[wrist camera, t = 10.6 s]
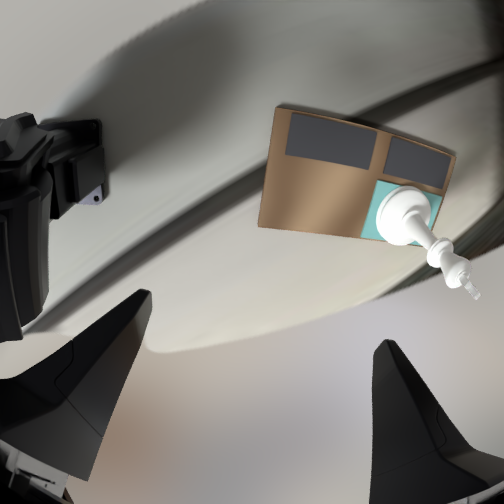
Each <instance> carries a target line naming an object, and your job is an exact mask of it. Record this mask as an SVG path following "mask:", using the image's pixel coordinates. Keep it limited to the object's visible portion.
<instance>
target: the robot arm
mask: <svg viewBox="0 0 504 504" xmlns="http://www.w3.org/2000/svg"><path fill="white" fill-rule="evenodd" d="M93 123H95V124H96V128H95V129H94V128H93ZM104 181H105V170H104V148H103V147H102V124H101V121H100V120H99V119H83V120H72V121H63V122H54V123H47V124H39V125H38V124H37V123H36V120H35V118H34V115H33V114H31V113H27V112H25V113H21V114H18V115H14V116H11V117H9V118H7V119H0V343H2V342H5V341H17V340H22V339H23V333H22V329H21V327H23V326H25V325H26V324H28V323H29V322H31V321H32V320H34V319H36V317H37V316H38V315H39V314H40V313H41V312H42V310H43V307H42V306H43V305H44V303H45V300H46V297H47V295H48V292H49V271H48V244H49V223H50V222H51V221H52V220H53V219H59V218H60V217H61V216H62V215H63V214H65V213H66V212H67V211H68V210H69V209H70V208H71V207H72V206H74V205H75V204H87V205H99V204H101V203H102V202H103V200H104V188H103V182H104ZM96 196H98V197H99V200H97V199H96ZM151 312H152V294H151V292H150V291H149V290H145V289H139V290H137V291H136V292H135V293H133V294H132V295H131V296H129V297H128V298H126V299H125V300H124V301H122V302H121V303H120V304H118V305H117V306H116V307H114V308H113V309H112V310H110V311H109V312H107V313H106V314H105V315H103V316H102V317H101V318H99V319H98V320H97V321H95V322H94V323H93V324H91V325H90V326H89V327H88V328H86V329H85V330H84V331H82V332H81V333H80V334H78V335H77V336H76V337H74V338H73V340H70V341H69V342H68V343H67V344H65V345H64V346H63V347H61V348H60V349H59V350H57V351H56V352H54V353H53V354H51V355H50V356H48V357H47V358H45V359H44V360H42V361H41V362H39V363H37V364H36V365H34V366H33V367H31V368H29V369H28V370H26V371H25V372H23V373H21V374H19V375H17V376H15V377H12V378H8V379H0V504H74V503H73V501H72V499H71V497H70V495H69V493H68V491H67V490H66V488H65V485H66V482H67V479H68V475H71V476H74V477H76V478H79V479H82V480H84V481H88V479H89V477H90V474H91V470H92V468H93V464H94V462H95V459H96V456H97V453H98V450H99V448H100V445H101V442H102V439H103V438H102V437H103V436H104V434H105V431H106V429H107V426H108V423H109V421H110V418H111V416H112V413H113V410H114V408H115V405H116V403H117V400H118V398H119V396H120V393H121V391H122V388H123V386H124V383H125V381H126V379H127V376H128V374H129V372H130V369H131V367H132V364H133V362H134V360H135V358H136V355H137V353H138V351H139V349H140V346H141V343H142V340H143V337H144V333H145V330H146V327H147V324H148V321H149V318H150V315H151ZM372 408H373V409H372V412H373V413H372V415H373V440H372V441H373V442H372V471H371V485H370V498H369V504H504V459H503V458H500V457H496V456H493V455H490V454H487V453H484V452H481V451H478V450H476V449H474V448H473V447H471V446H470V445H469V444H468V442H467V441H466V440H465V439H464V437H463V436H462V435H461V434H460V432H459V431H458V429H457V428H456V427H455V426H454V424H453V423H452V422H451V420H450V419H449V417H448V416H447V414H446V413H445V412H444V410H443V409H442V407H441V406H440V404H439V403H438V401H437V400H436V398H435V397H434V395H433V394H432V392H431V391H430V389H429V388H428V387H427V385H426V384H425V382H424V381H423V379H422V378H421V377H420V375H419V374H418V372H417V371H416V369H415V368H414V367H413V365H412V364H411V362H410V361H409V360H408V358H407V357H406V356H405V354H404V353H403V352H402V350H401V349H400V347H399V346H398V345H397V343H396V342H395V341H394V340H389V339H385V340H384V341H383V342H382V343H381V344H380V346H378V348H377V349H376V350H375V352H374V355H373V376H372Z"/></svg>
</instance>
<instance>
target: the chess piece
mask: <svg viewBox="0 0 504 504" xmlns="http://www.w3.org/2000/svg"><path fill="white" fill-rule="evenodd" d="M430 216H431V207H430V203H429V201H428V199H427V197H426V196H425V195H424V194H423V193H422V192H421V191H420V190H419V189H418V188H416V187H413V186H402V187H398V188H396V189H394V190H393V191H391V192H390V193H389V194H388V195H387V196H386V197H385V198H384V199H383V201H382V202H381V204H380V206H379V208H378V211H377V215H376V225H377V229H378V232H379V233H380V235H381V236H382V237H383V238H384V239H385V240H386V241H388V242H389V243H391V244H393V245H399V246H401V245H407V244H410V243H412V242H414V241H417V242H418V243H419V244H421V245H422V246H423V247H424V248H425V249H427V250H428V253H427V262H428V263H429V265H431V266H433V267H441V269H442V271H443V274H444V279H445V281H446V284H447V285H448V287H450V288H457V287H459V286H461V285H463V286H464V287H465V288H466V289H467V290H468V292H469V293H470V294H471V295H472V296H473V298H474V299H475V300H477V299H478V297H479V296H480V295H481V294H480V293H479V292H478V290H477V289H476V288H475V286H474V285H473V284H472V283H471V282H470V281H469V280H468V278H469V276H470V273H471V269H472V266H471V263H470V261H469V260H467V259H465V258H463V257H460V256H458V255H456V254H454V253H453V245H452V242H451V241H450V240H449V239H448V238H441V239H437V238H436V237H435V235H434V234H433V233H432V231H431V230H430V229H429V227H428V224H429V221H430Z"/></svg>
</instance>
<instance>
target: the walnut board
mask: <svg viewBox="0 0 504 504" xmlns="http://www.w3.org/2000/svg"><path fill="white" fill-rule="evenodd" d="M292 113H294V114H300V115H305V116H310V117H316V118H321V119H325V120H330V121H334V122H339V123H343V124H347V125H351V126H355V127H359V128H363V129H367V130H371V131H374V132H377V136H376V141H375V145H374V149H373V154H372V158H371V162H370V166H369V170H365V169H361V168H356V167H351V166H347V165H342V164H336V163H331V162H326V161H320V160H314V159H308V158H302V157H296V156H289V155H285V151H286V145H287V139H288V133H289V126H290V120H291V114H292ZM391 137H395V138H398V139H401V140H404V141H407V142H410V143H413V144H416V145H419V146H422V147H425V148H427V149H430V150H433V151H435V152H438V153H441V154H443V155H446V156H448V157H451V162H450V166H449V169H448V173H447V176H446V179H445V183H444V186H443V189H439V188H435V187H432V186H428V185H425V184H421V183H418V182H414V181H410V180H407V179H403V178H399V177H395V176H391V175H387V174H383V170H384V166H385V162H386V158H387V154H388V150H389V146H390V141H391ZM455 160H456V157H455V156H453V155H450V154H448V153H445V152H443V151H440V150H438V149H435V148H433V147H430V146H427V145H424V144H422V143H419V142H416V141H413V140H410V139H407V138H404V137H401V136H398V135H395V134H392V133H388V132H385V131H382V130H378V129H375V128H371V127H368V126H364V125H360V124H356V123H352V122H348V121H344V120H340V119H336V118H331V117H327V116H322V115H317V114H312V113H307V112H302V111H296V110H290V109H284V108H278V107H275V113H274V120H273V126H272V133H271V140H270V146H269V153H268V159H267V166H266V173H265V179H264V186H263V192H262V199H261V205H260V212H259V219H258V227H262V228H272V229H281V230H291V231H300V232H309V233H318V234H326V235H335V236H343V237H351V238H360V239H368V240H375V241H383V242H388V241H384V240H376V239H369V238H361V237H360V235H361V232H362V229H363V226H364V223H365V220H366V216H367V213H368V210H369V207H370V203H371V200H372V196H373V193H374V189H375V186H376V182H377V180H380V181H385V182H389V183H393V184H398V185H402V186H413V187H416V188H418V189H419V190H421V191H425V192H429V193H432V194H436V195H439V196H442V200H441V203H440V206H439V209H438V211H437V214H436V217H435V220H434V222H433V225H432V228H431V231H432V230H433V227H434V224H435V222H436V219H437V216H438V214H439V211H440V208H441V205H442V202H443V200H444V197H445V194H446V191H447V187H448V184H449V181H450V178H451V174H452V171H453V168H454V164H455ZM407 245H413V244H407ZM413 246H420V245H413ZM420 247H423V246H420Z"/></svg>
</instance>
